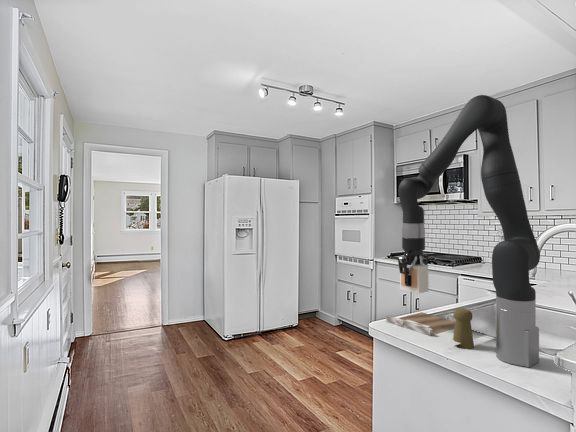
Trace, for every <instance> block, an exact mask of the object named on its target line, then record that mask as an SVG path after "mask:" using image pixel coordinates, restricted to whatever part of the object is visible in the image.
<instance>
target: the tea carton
mask: <svg viewBox="0 0 576 432" xmlns="http://www.w3.org/2000/svg"><path fill="white" fill-rule="evenodd" d="M407 266H411V265H407ZM403 270H404V268H403ZM407 270H408V271H409V268H407ZM399 290H402V291H407V292H409V293H410V292H411V293H416V294H423V293H427V292H429V265H424V264H423V265H420V264H419V265H415V266H413V269H412V273H411V286H406V285H405V275H404V274H401V273H400V272H399Z"/></svg>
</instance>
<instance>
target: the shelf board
mask: <svg viewBox="0 0 576 432" xmlns="http://www.w3.org/2000/svg"><path fill="white" fill-rule="evenodd" d="M385 319H386V320H385V322H386V323H389V324H392V325H395V326H398V327H401V328H405V329H407V330H410V331H414V332H417V333H419V334H422V335H426V336H428V337H432V336H434V335H438V334H441V333H444V332H447V331H450V330H453V329H454V328H455V321H456V320H451V319H448V318H445V317H441V316H437V315H434V314H430V313H427V312H423V311H422V312H418V313H414V314H410V315H407V316H402V317H398V318H397V317H395V316H392V315H386V318H385Z"/></svg>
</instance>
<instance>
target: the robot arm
mask: <svg viewBox="0 0 576 432" xmlns="http://www.w3.org/2000/svg"><path fill="white" fill-rule="evenodd" d="M476 130H477V131H478V133H479V136H480V141H481V144H482V150H483V152H482V154H483V155H482V161H481V166H480V179H481V182H482V183H481V184H482V188H483V192H484V197H485V198H486V201H487V203H488V205H489V207H490V208H491V209H492V211H493V213H494V214H495V216H496V217H497V219H498V221H499V224H500V225H501V229H502V235H503V240H502V241H500V242H497V244H496V245H494V248H493V250H492V254H491V273H492V284H493V286H494V289H495V305H496V306H495V342H496V343H495V345H496V347H495V350H496V351H495V353H496V358H497V359H499V360H500V361H502V362H505V363H507V364H510V365H516V366H522V367H527V368H530V367H532V366H535V365H536V364H538V363H539V362H540V328H539V326H536V323H537V321H536V318H537V316H536V314H537V312H536V311H537V309H536V307H537V306H536V298H537V295H536V292H537V291H536V290H535V288H534V287H533V286H531V285H532V284H531V283H530V271H532V270H535V268H536V267H537V266H538V265H539V263H540V260H541V252H540V249H539V245H538V243H537V240H536V237H535V235H534V232H533V229H532V227H531V224H530V220H529V216H528V211H527V208H526V207H527V206H526V202H525V198H524V197H525V196H524V193H523V188H522V184H521V180H520V174H519V170H518V168H517V164H516V163H517V162H516V160H515V159H516V158H515V155H514V152H513V147H512V145H511V140H510V135H509V125H508V116H507V109H506V107H505V105H504V103H503V102H501V101H500V100H499V99H497V98H495V97H492V96H490V95H486V94H485V95H484V94H479V95H477V96H473V98H471V99H470V100H468V102H467V103H466V104H465V105H464V107H463V108H462V110H461V111H460V112H459V115H457V118H455V120H454V122H453V123H452V125H451V126H450V128H449V129H448V131H447V132H446V133H445V135H444V137H443V138H442V139H441V141H440V142H439V143H438V145H436V147H435V149H434V150H433V151H432V152H431V153H430V154H429V155H428V157H426V158H425V160H424V161H423V162H422V163H421V165H420V166H418V173H419V174H418V175H417V177H416V178H405V179H403V180H402V181H401V182H400V183H399V186H398V190H397V191H398V197H399V203H400V207H401V210H402V228H401V249H402V250H403V251H404V253H403V255H402V256H397V263H398V267H399V268H398V269H399V274H400V273H401V274H404V275H405V285H406V286H411V273H412V269H413V266H415V265H419V264H420V265H428V264H429V257H430V255H429V254H428V253H427V254H426V253H424V252H423V251H425V249H426V228H425V227H426V226H425V209H424V207H422V206H420V205H419V201H418V200H420V199H421V200H422V199H423V198H424V197H425V196H427V195H428V194H429V193H430V191H431V189H432V188H433V187H434V185H435V183H436V181H437V179H438V178H440V177H441V175H443V173H445V171H446V170H447V169H448V168H449V167H450V166H451V165H452V163H453V162H454V160H455V159H456V156H457V154H458V152H459V150H460V149H461V147H462V145H463V144H464V142H465V141H466V140H467V139H468V138H469V137H470V136H471V135H472V134H473V133H474V132H476ZM407 265H411V266H407ZM428 266H429V265H428ZM403 268H404V270H403ZM407 268H409V271H408V270H407Z"/></svg>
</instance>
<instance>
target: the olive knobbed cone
mask: <svg viewBox="0 0 576 432" xmlns="http://www.w3.org/2000/svg"><path fill="white" fill-rule="evenodd" d="M453 318H454V319H455V320H454V321H455V328H454V331H453V336H452V337H453V338H452V340H453V341H454V342H456V343H458V344H456V345H454V347H456V348H459V349H464V350H470V349H471V350H472V349H474V348H475V343H474V336H473V330H472V323H471V322H472V320H473V312H472V311H471V310H470V309H466V308H456V309H455V310H454V311H453Z"/></svg>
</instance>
